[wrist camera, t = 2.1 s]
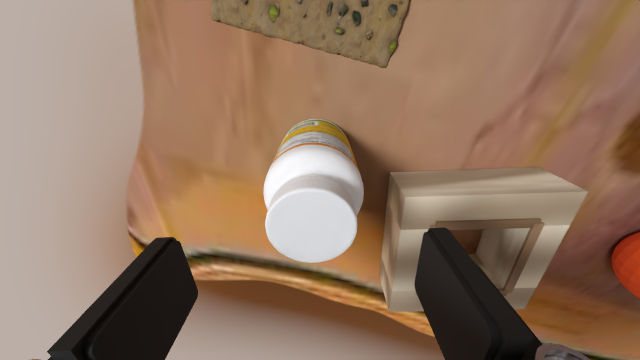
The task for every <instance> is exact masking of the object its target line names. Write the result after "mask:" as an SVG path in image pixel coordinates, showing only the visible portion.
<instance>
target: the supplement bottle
mask: <svg viewBox="0 0 640 360" xmlns="http://www.w3.org/2000/svg"><path fill="white" fill-rule="evenodd" d="M363 197H364V187H363V182H362V178H361V175H360V172H359V169H358V166H357V163H356V160H355V157H354V155H353V152H352V149H351V146H350V143H349V141H348V139H347V137H346V135H345V134H344V132H343V131H342V130H341V129H340V128H339V127H338V126H336V125H335V124H333V123H331V122H329V121H326V120H322V119H309V120H305V121H302V122H300V123H298V124H296V125H295V126H294V127H292V128H291V129H290V130H289V132H288V133H287V134H286V136H285V138H284V139H283V141H282V143H281V146H280V148H279V150H278V152H277V154H276V156H275V159H274V161H273V163H272V165H271V167H270V169H269V171H268V174H267V176H266V179H265V183H264V200H265V204H266V207H267V209H268V212H267V216H266V221H265V227H266V233H267V236H268V238H269V240H270V242H271V243H272V245H273V246H274V247H275V248H276V249H277V250H278V251H279V252H280V253H282V254H283V255H285V256H287V257H289V258H291V259H293V260H297V261H301V262H307V263H316V262H323V261H328V260H330V259H333V258H335V257H337V256H339V255H340V254H342V253H343V252H345V251H346V250H347V249H348V248H349V247H350V245H351V244H352V242H353V241H354V239H355V236H356V233H357V226H358V224H357V217H356V216H357V214H358V213H359V211H360V208H361V206H362V203H363Z"/></svg>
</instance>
